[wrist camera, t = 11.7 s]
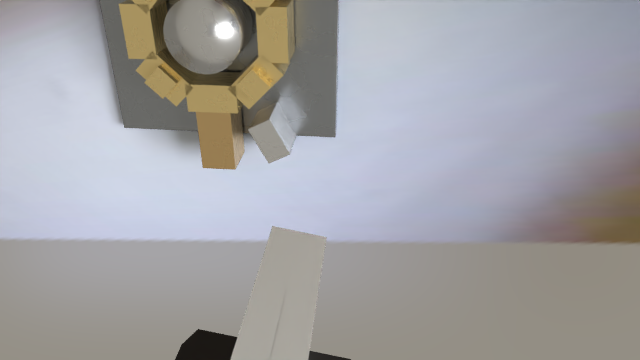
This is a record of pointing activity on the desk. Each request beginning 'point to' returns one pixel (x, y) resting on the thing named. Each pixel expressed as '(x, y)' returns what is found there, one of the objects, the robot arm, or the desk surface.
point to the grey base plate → (236, 69)
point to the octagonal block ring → (211, 89)
